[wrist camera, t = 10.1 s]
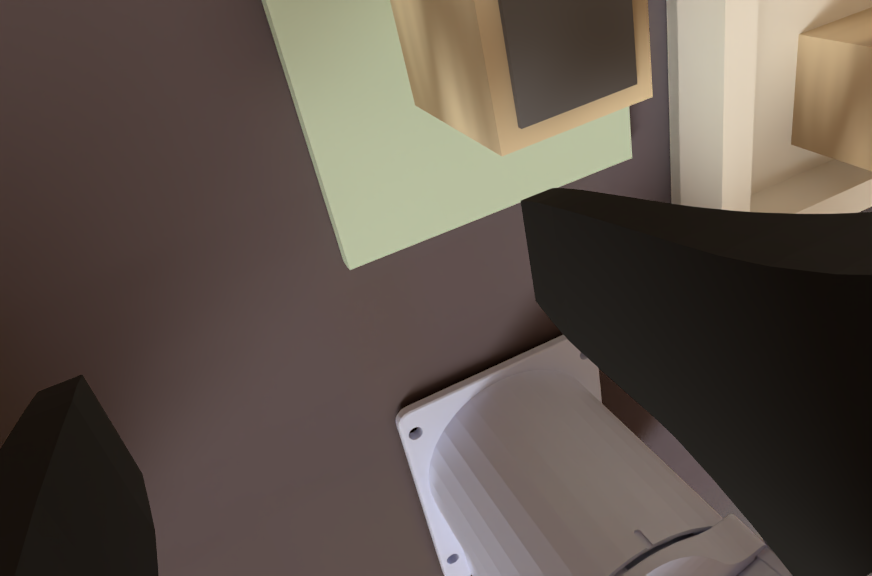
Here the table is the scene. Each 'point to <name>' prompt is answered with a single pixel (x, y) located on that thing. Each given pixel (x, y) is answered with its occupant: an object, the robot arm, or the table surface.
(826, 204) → the tray
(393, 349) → the table surface
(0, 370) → the table surface
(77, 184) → the table surface
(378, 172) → the pad
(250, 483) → the table surface
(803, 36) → the plain block
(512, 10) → the labelled block
